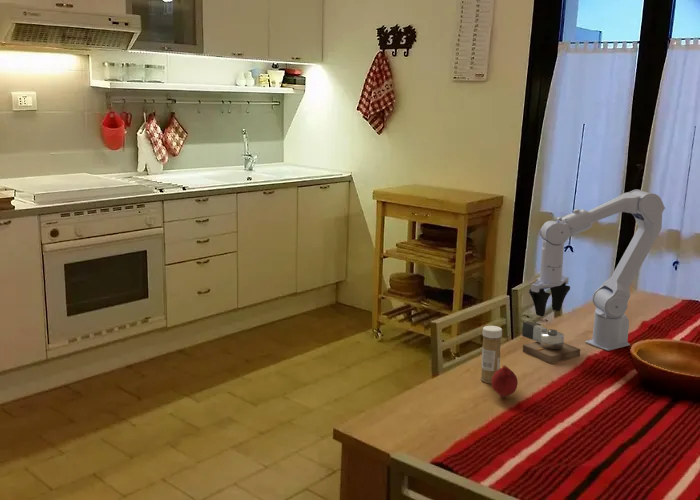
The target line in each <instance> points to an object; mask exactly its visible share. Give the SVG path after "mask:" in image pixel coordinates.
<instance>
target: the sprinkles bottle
mask: <svg viewBox="0 0 700 500" xmlns="http://www.w3.org/2000/svg"><path fill="white" fill-rule="evenodd" d="M482 337H483V338H482V347H481V349H482V350H481V366H480V367H481V373H480V380H481V381H482V382H484V383H485V384H490V385H491V380H492V377H493V375H494V373H495V372H496V371H497V370H499V369H500V368H501V367H500V366H501V340H502V337H503V329H502V328H501V327H499V326H496V325H486V326H484V327H483V328H482Z"/></svg>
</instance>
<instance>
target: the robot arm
mask: <svg viewBox="0 0 700 500" xmlns="http://www.w3.org/2000/svg"><path fill="white" fill-rule="evenodd" d="M665 209H666V207H665V204H664V203H663V201H662V198H661V197H660V196H659V195H658V194H656V193H653V192H651V193H650V192H649V191H648V192H647V191H644V190H641V189H633V190H630V191H628V192H623V193H622V194H620V195H619V196H617V197H615V198H613V199H610V200H609V201H607V202H605V203H602V204H601V205H598V206H596V207H594V208H592V209H590V210H586V209H579V208H575V209H573V210H572V212H571V213H569V214H567V215H564V216H557V217H556V221H555V220H547V221H545V222H544V223H543V225H542V226H541V228H540V229H539V231H538V232H539V236H540V237H541V238H542V239H541V241H542V242H541V255H540V269H539V270H540V271H539V277H537V278H536V281H535V282H534V283H531V287H530V289H529V290H528V294H529V295H530V298H531V299H532V301H533V305H534V309H535V315H536V316H538V317H539V316H540V317H544V316H545V314H546V309H547V302H548V300H549V298H550V295H551V306H552V307H551V309H552V311H557V312H560V311H561V310H562V307H563V303H564V301H565V299H566V296H567V294H568V293H569V291H570V290H571V285H568V284H569V277H568V276H565V275H564V276H563V263H564V262H563V261H564V244H565V243H566V242H567V241H568V238H570V237H573V236H575V235H578V234H580V233H582V232H585V231H588V230H590V229H592V226H593V225H594V223H595V222H598V221H601V220H603V219H607V218H609V217H612V216H614V215H617V214H620V213H627V214H631V215H632V216H633V217H634V219H635V222H636V224H637V229H636V231H635V233H634V234H633V236H632V238H631V240H630V242H629V244H628V246H627V247H626V249H625V251H624V252H623V255H622V256H621V258H620V260H619V262H618V264H617V265H616V267H615V268H614V269H615V270H614V271H613V272H612V274H611V277H609V278H608V279H606V280H605V281H603V282H602V284H601V286H600V287H598V288H597V289H596V290H595V291H594V292H593V294H592V297H591V299H592V303H593V305H594V306H595V309H594V315H593V316H594V319H593V327H592V328H593V329H592V339H588V340H585V344H587V345H591V346H594V347H596V348H598V349H602V350H605V351H607V352H610V351H613V350H616V349H620V348H624V347H628V346H630V345H631V344H630V342H628V339H629V338H628V337H629V328H630V320H629V318H628V316H627V315H626V314H625V313H626V311H627V310H628V302H629V300H630V297H631V291H630V286H631V285H632V283H633V281H634V279H635V278H636V275H637V274H638V272H639V270H640V268H641V267H642V266H643V263H644V261H645V259H646V258H647V256H648V255H649V253H650V251H651V249H652V247H653V245H654V244H655V241H656V240H657V238H658V237H659V235H660V233H661V230H662V226H663V225H662V223H663V213H664V211H665ZM547 289H550V292H551V293H549V292H546V291H545V290H547Z"/></svg>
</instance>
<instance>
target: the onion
mask: <svg viewBox="0 0 700 500" xmlns="http://www.w3.org/2000/svg"><path fill="white" fill-rule="evenodd" d="M490 385H491V387H492V388H493V390H494V391H495V392H496V393H497V394H498V395H499V396H500V397H501V398H503V399H505V398H507V397H508V396H511V395H512V394H513V393H515V392H516V390H517V388H518V378H517V375H516V374H515V373H514V371H513V370H511V369H510V368H509V367H508V366H507V365H506V364H505V363H502V367H500V369H499V370H497V371H496V372H495V373H494V375H493V377H492V380H491V384H490Z"/></svg>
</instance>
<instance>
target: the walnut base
mask: <svg viewBox="0 0 700 500" xmlns="http://www.w3.org/2000/svg"><path fill="white" fill-rule="evenodd" d="M524 352H525V353H524ZM522 353H524V354H526V355H529V356H531V357H533V358H536V359H538V360H541V361H543V362H546V363H548V364H550V365H551V364H555V363H559V362H562V361H566V360H570V359H574V358H579V357H580V356H581V348H578V347H576V346H573V345H571V344H567V343H566V342H564V343H563V348H562V349H547V348H544V347H542V346H540V343H539V342H537V341H534V342H530V343H525V344H523V345H522Z"/></svg>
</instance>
